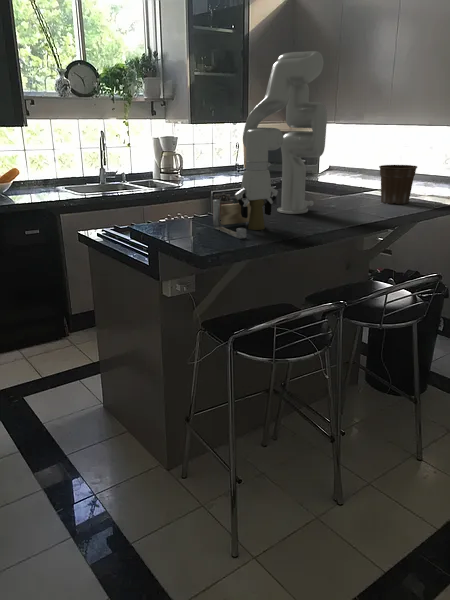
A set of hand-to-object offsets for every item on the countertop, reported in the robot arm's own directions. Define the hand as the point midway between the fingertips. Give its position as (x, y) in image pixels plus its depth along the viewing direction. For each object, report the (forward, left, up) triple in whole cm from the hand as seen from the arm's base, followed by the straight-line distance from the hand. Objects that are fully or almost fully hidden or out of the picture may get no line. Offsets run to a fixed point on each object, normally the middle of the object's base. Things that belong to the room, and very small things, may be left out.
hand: (256, 216), depth 183 cm
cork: (0, 0, -5) cm, 5 cm away
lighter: (+3, -19, -5) cm, 20 cm away
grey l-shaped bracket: (+12, +1, -4) cm, 13 cm away
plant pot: (-83, -14, -5) cm, 84 cm away
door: (+3, -8, -3) cm, 9 cm away
